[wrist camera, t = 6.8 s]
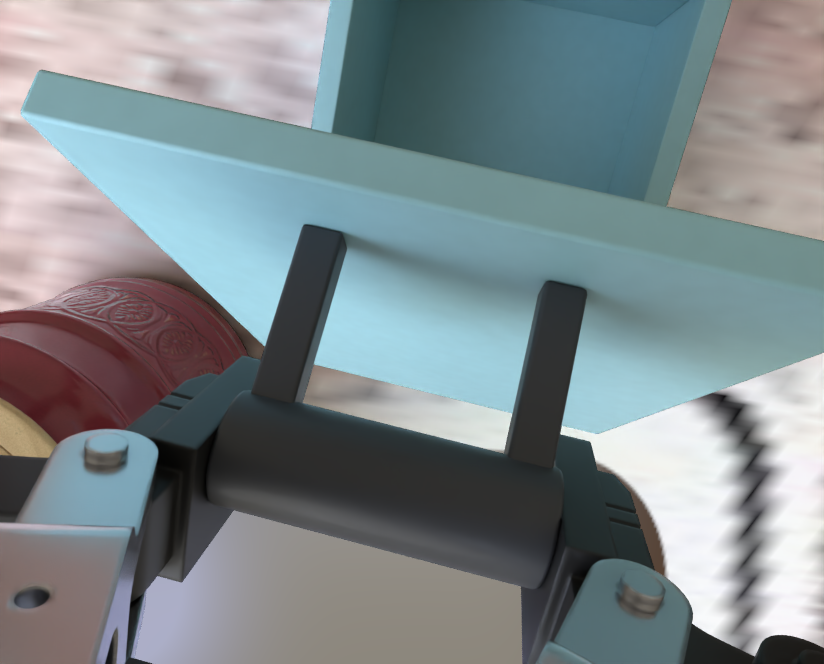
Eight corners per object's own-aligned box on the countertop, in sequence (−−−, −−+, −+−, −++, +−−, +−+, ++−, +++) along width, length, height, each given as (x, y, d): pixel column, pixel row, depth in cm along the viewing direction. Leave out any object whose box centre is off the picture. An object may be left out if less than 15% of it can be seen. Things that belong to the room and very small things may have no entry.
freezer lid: (37, 66, 10) (-123, 429, 8) (930, 261, 9) (899, 702, 7) (277, 334, 26) (234, 473, 24) (602, 413, 25) (575, 562, 23)
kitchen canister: (5, 318, 37) (-406, 464, 21) (199, 235, 34) (-96, 326, 18) (113, 514, 40) (-174, 784, 23) (302, 453, 37) (130, 712, 20)
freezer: (392, -42, 30) (347, -114, 21) (675, 14, 29) (744, -38, 20) (334, 291, 34) (278, 340, 26) (576, 348, 33) (598, 419, 25)
